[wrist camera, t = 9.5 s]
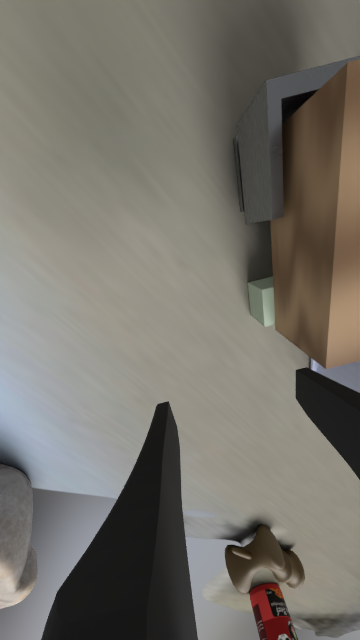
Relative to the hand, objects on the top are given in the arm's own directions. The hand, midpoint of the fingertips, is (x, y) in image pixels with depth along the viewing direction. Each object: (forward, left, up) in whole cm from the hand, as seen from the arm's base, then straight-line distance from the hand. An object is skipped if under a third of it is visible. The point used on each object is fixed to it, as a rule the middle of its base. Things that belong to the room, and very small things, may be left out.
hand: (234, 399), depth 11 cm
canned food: (-76, -2, -11) cm, 77 cm away
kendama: (-50, -3, -11) cm, 52 cm away
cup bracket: (+11, -8, -10) cm, 17 cm away
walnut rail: (+6, -8, -7) cm, 12 cm away
